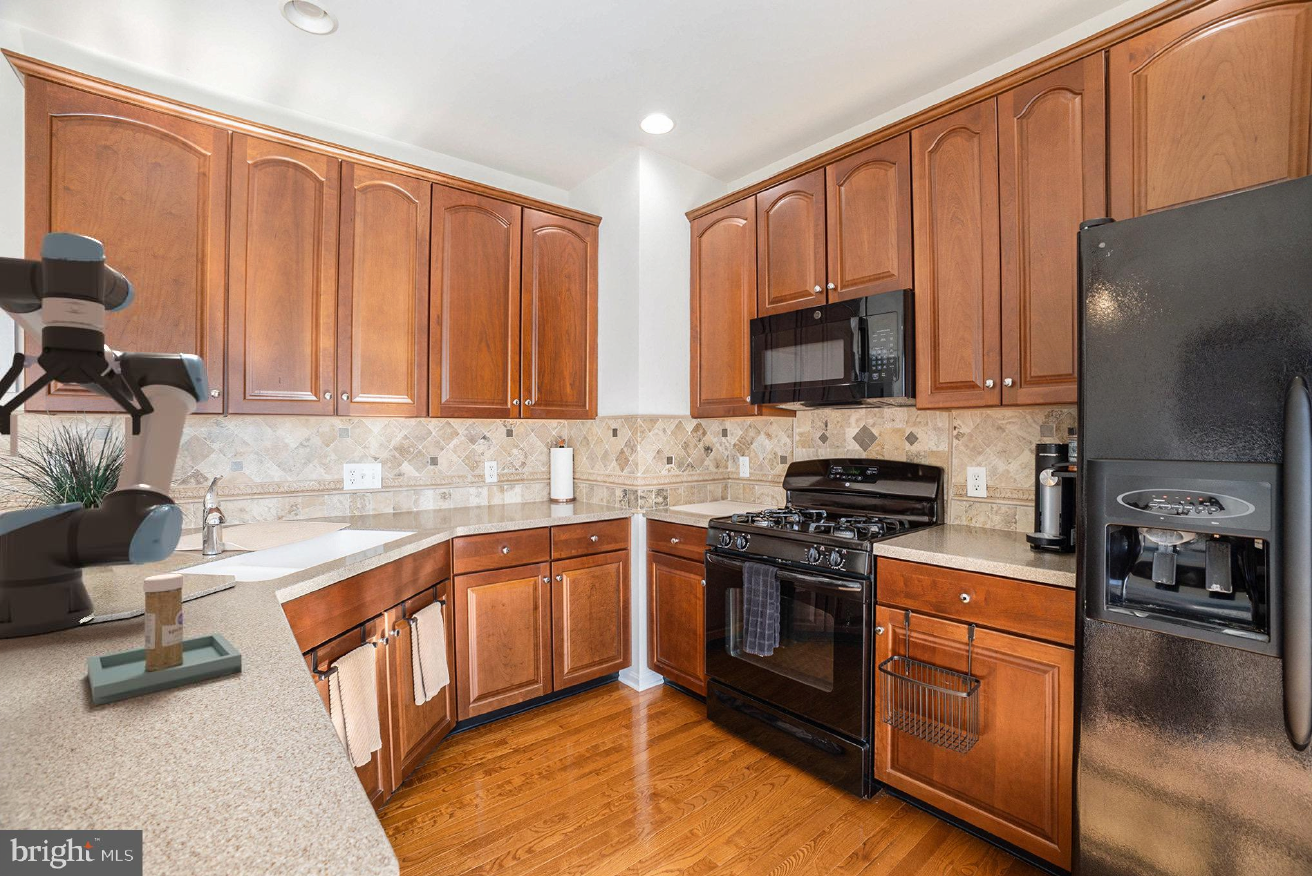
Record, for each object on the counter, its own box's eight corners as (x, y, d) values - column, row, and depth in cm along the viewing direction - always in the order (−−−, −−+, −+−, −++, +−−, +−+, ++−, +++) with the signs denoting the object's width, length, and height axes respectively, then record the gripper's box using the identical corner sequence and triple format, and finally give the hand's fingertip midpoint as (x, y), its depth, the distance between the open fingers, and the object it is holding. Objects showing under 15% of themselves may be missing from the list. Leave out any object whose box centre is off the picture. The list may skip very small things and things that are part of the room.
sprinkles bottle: (182, 667, 87) (181, 576, 87) (141, 674, 85) (140, 580, 85) (185, 658, 91) (184, 571, 91) (146, 665, 88) (146, 575, 89)
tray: (87, 675, 88) (87, 658, 88) (219, 647, 99) (219, 632, 99) (93, 706, 77) (93, 687, 77) (241, 671, 88) (241, 654, 88)
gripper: (-44, 313, 87) (-44, 456, 87) (172, 334, 105) (173, 453, 105) (-39, 321, 92) (-39, 456, 92) (166, 340, 110) (167, 453, 110)
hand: (74, 455), depth 99 cm, fingers open, 13 cm apart
